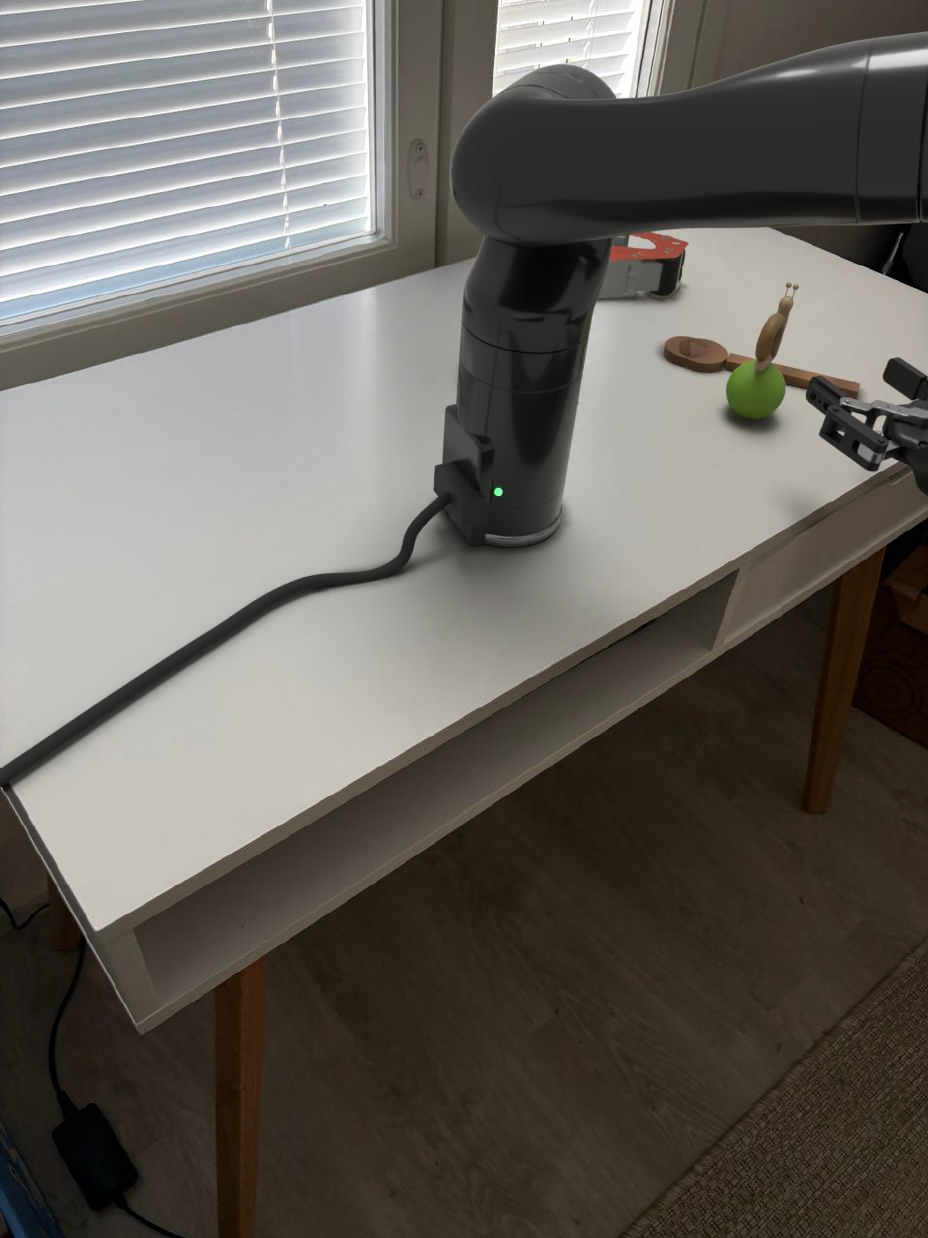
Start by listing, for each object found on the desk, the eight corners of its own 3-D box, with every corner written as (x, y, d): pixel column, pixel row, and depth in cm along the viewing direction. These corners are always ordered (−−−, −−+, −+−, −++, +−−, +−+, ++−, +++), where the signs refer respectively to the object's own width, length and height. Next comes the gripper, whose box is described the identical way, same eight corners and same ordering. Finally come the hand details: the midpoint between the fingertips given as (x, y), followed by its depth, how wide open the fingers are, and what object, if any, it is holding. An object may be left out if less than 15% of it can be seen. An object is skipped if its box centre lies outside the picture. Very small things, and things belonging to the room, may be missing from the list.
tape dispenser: (537, 346, 107) (710, 322, 111) (540, 301, 103) (720, 278, 107) (492, 265, 119) (650, 245, 122) (493, 221, 115) (657, 202, 118)
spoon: (858, 383, 103) (861, 374, 102) (854, 408, 99) (857, 399, 99) (669, 339, 107) (671, 330, 107) (658, 361, 104) (660, 352, 103)
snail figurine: (785, 405, 99) (823, 289, 91) (767, 436, 95) (805, 318, 87) (732, 388, 101) (764, 273, 92) (712, 418, 97) (744, 301, 88)
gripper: (1087, 420, 75) (928, 321, 85) (948, 461, 70) (797, 350, 80) (1042, 501, 80) (897, 398, 90) (909, 545, 75) (771, 430, 85)
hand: (850, 376), depth 85 cm, fingers open, 8 cm apart
